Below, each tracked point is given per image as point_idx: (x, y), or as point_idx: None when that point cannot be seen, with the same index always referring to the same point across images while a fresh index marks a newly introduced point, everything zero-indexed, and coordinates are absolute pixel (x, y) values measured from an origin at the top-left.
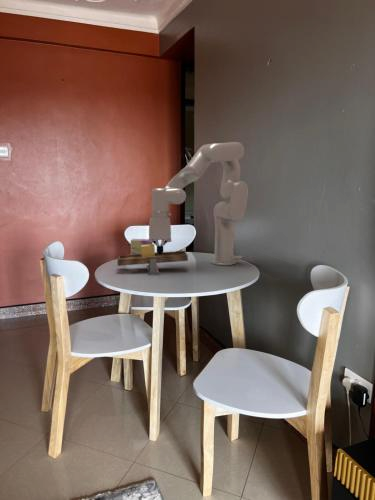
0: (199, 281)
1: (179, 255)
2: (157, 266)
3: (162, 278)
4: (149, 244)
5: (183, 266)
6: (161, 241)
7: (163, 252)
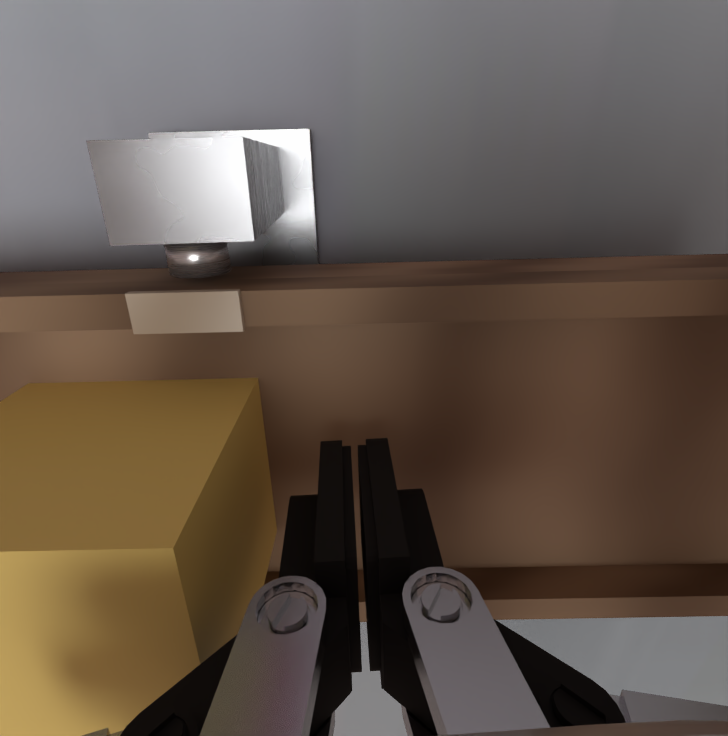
0: (631, 684)
1: (659, 612)
2: (316, 252)
3: (365, 625)
4: (35, 567)
5: (682, 163)
6: (429, 699)
7: (438, 304)
